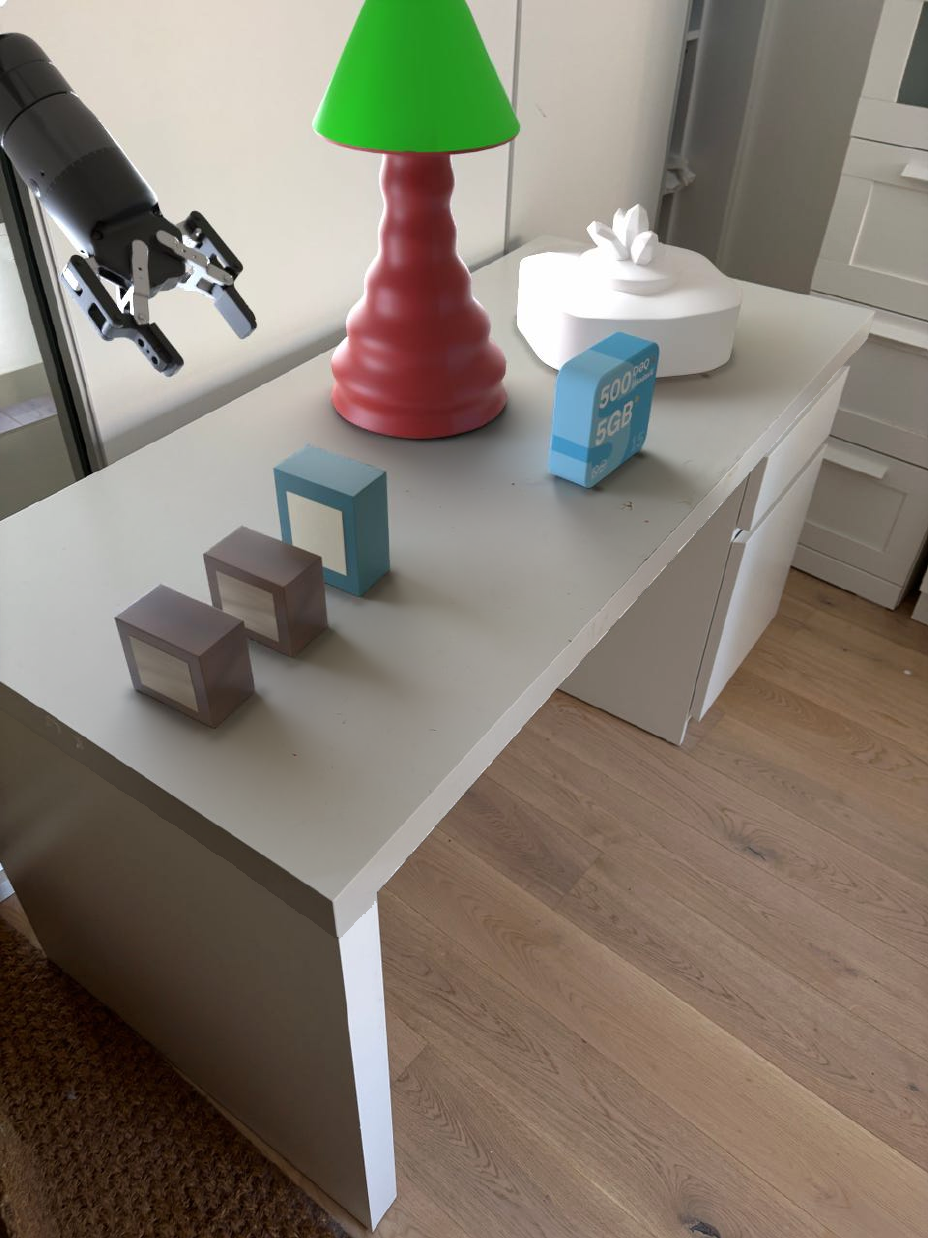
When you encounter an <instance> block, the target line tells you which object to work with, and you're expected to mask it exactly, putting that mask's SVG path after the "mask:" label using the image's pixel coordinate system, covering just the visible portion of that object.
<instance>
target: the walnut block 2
mask: <svg viewBox="0 0 928 1238" xmlns="http://www.w3.org/2000/svg"><path fill="white" fill-rule="evenodd" d="M202 558H203V563H204V564H203V565H204V569H205V574H206V579H207V585H208V589H209V595H210V600H211V606H213V607H215V608H217V609H219V610H222V611H224V612H226V613H228V614H231V615H233V616H235V617H237V618H240V619H242V620H244V625H245V631H246V637H247V638H248V639H250V640H253V641H256V642H258V643H259V644H261V645H263V646H266V647H269V648H270V649H273V650H275V651H278V652H279V653H282V654H284V655H286V656H289V657H291V658H294V657H296V655H298V654H299V653H300V652H301V651H302V650H303V649H304V648H305V647H306V646H307V645H308V644H310V643H311V642H312V641H313V640H314V639H315V638H316V637H318V635H319V634H321V633H322V632H323V631H324V630H325V629H326V628H327V627H328V626H329V621H328V611H327V609H328V608H327V599H326V588H325V587H326V586H325V582H324V577H323V566H322V557H321V556H319V555H316V554H313V553H311V552H308V551H306V550H303V549H301V548H298V547H296V546H293V545H291V544H288V543H286V542H283V541H282V539H281V540H280V539H278V538H276V537H273V536H271V535H268V534H265V533H264V532H260V531H258V530H256V529H252V528H250V527H248V526H245V525H244V524H243V525H240V526H238V527H237V528H236V529H234V530H233V531H232V532H230V533H229V534H227V535H226V536H225V537H224V538H222V539H220V540H219V541H218V542H216V543H215V544H213V545H212V546H211V547H210V548H208V549H206V550H205V551H204V552H202Z"/></svg>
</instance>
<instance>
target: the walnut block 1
mask: <svg viewBox="0 0 928 1238" xmlns="http://www.w3.org/2000/svg"><path fill="white" fill-rule="evenodd" d="M113 618H114V621H115V626H116V629H117V633H118V636H119V639H120V643H121V647H122V651H123V654H124V657H125V661H126V665H127V668H128V673H129V676H130V679H131V683H132V687H133V688H134V689H135V690H137V691H139V692H141V693H143V694H144V695H147V696H149V697H151V698H153V699H154V700H157V701H159V702H161V703H162V704H165V705H166V706H168V707H170V708H172V709H175V710H176V711H178V712H180V713H182V714H184V715H187V716H188V717H190V718H192V719H194V720H196V721H198V722H200V723H202V724H204V725H206V726H207V727H210V728H212V729H216V728H217V727H218V726H219V725H220V724H221V723H222V722H223V721H225V719H227V718H228V717H229V716H230V715H231V714H232V713H233V712H234V711H236V709H238V708H239V707H240V706H241V705H242V704H243V703H244V702H246V700H248V698H250V697H251V696H252V695H253V694H254V693H255V692H256V685H255V680H254V673H253V667H252V662H251V656H250V649H249V643H248V637H246V631H245V625H244V620H242V619H240V618H237V617H235V616H233V615H231V614H228V613H226V612H224V611H222V610H219V609H217V608H215V607H213V606H212V605H210V604H208V603H206V602H204V601H201V600H200V599H197V598H195V597H192V596H190V595H188V594H186V593H183V592H181V591H179V590H176V589H174V588H172V587H170V586H167V585H166V584H163V583H159V584H158V585H156V586H155V587H153V588H152V589H151V590H150V591H148V592H146V593H145V594H144V595H142V596H141V597H140V598H138V599H137V600H135V601H134V602H133V603H131V604H130V605H128V606H127V607H126V608H124V609H123V610H122V611H120V612H119V613H118V614H116V615H114V617H113Z"/></svg>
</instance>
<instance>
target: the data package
mask: <svg viewBox="0 0 928 1238" xmlns="http://www.w3.org/2000/svg"><path fill="white" fill-rule="evenodd" d="M658 359H659V346H658V344H657V343H655V342H652V341H648V340H645V339H642V338H639V337H635V336H632V335H629V334H626V333H622V332H615V333H613V334H612V335H610V336H608V337H607V338H605V339H603V340H602V341H600V342H599V343H597V344H595V345H594V346H592V347H590V348H589V349H587V350H585V351H584V352H582V353H580V354H579V355H577V356H575V357H574V358H572V359H570V360H569V361H567V362H566V363H565V364H564V365H563V366H562V367H561V369H560V371H559V370H558V373H557V376H556V379H555V386H554V387H555V389H554V400H553V411H552V425H551V432H550V433H551V436H550V445H549V446H550V447H549V457H548V458H549V459H548V468H549V469H548V470H549V472H550V474H551V475H554V476H556V477H560V478H562V479H564V480H567V481H569V482H572V483H575V484H577V485H579V486H582V487H584V488H586V489H587V488H588V489H590V488H593V487H594V486H595V485H597V484H598V483H599V482H601V481H602V480H603V479H605V478H606V477H607V476H608V475H610V474H611V473H613V471H615V470H616V469H617V468H619V467H620V466H622V465H623V464H624V463H625V462H627V460H629V459H630V458H632V457H633V456H634V455H635V454H637V453H639V451H640V450H641V449H642V448H643V446H644V444H645V441H646V439H647V436H648V435H647V434H648V429H649V423H650V415H651V409H652V404H653V396H654V390H655V384H656V379H657V378H656V372H657V366H658Z"/></svg>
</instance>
